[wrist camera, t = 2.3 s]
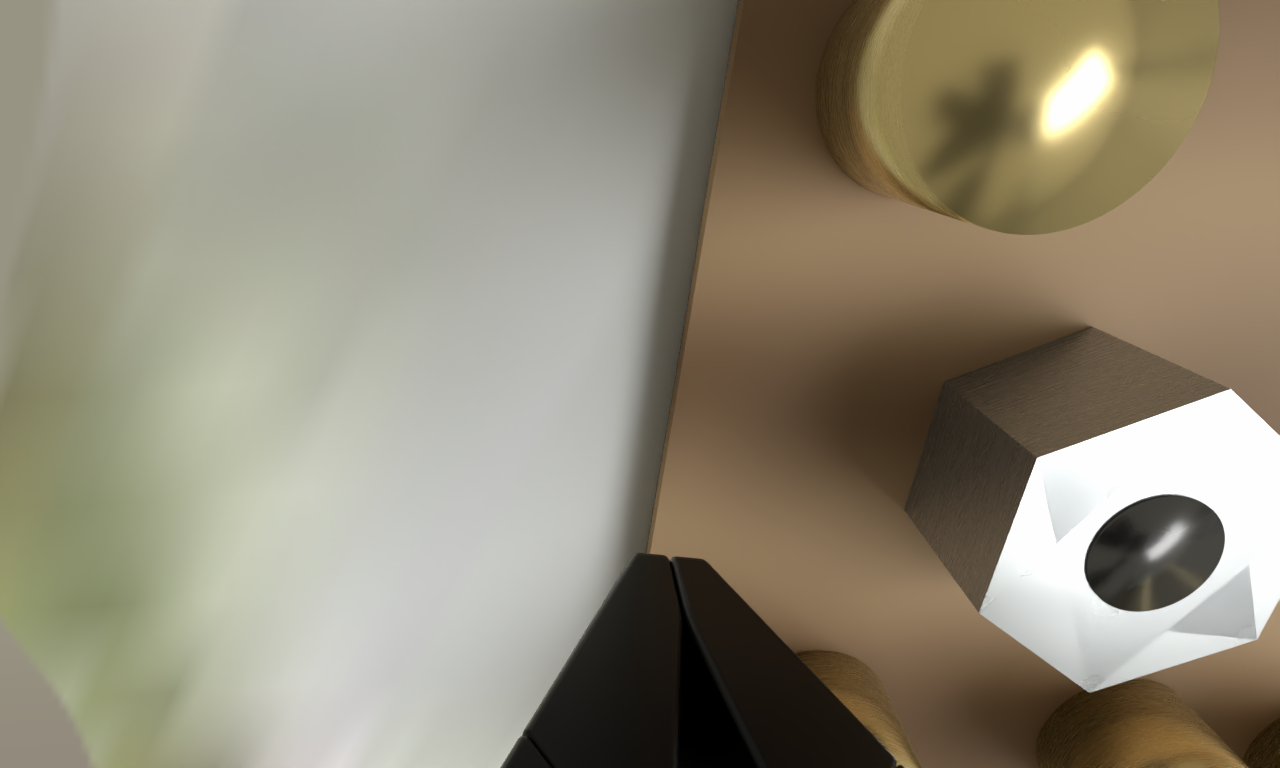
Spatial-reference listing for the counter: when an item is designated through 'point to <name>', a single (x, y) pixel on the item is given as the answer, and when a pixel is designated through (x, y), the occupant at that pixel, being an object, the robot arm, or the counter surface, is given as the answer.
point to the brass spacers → (1025, 228)
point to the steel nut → (1103, 506)
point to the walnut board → (940, 374)
